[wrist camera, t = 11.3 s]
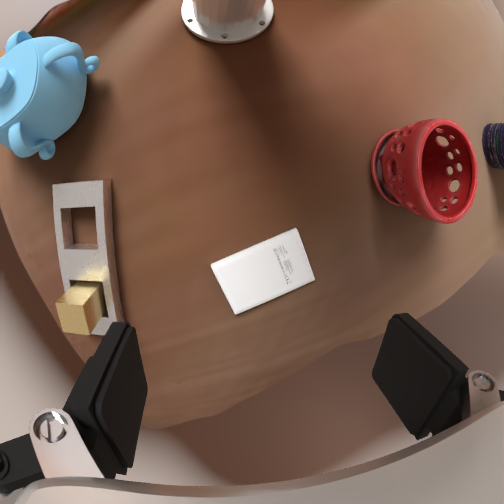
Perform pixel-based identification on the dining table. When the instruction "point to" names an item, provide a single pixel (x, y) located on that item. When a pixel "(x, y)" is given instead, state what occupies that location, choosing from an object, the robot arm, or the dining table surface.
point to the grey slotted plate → (88, 244)
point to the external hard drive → (264, 271)
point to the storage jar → (494, 144)
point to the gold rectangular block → (82, 307)
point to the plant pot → (426, 169)
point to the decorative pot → (40, 92)
